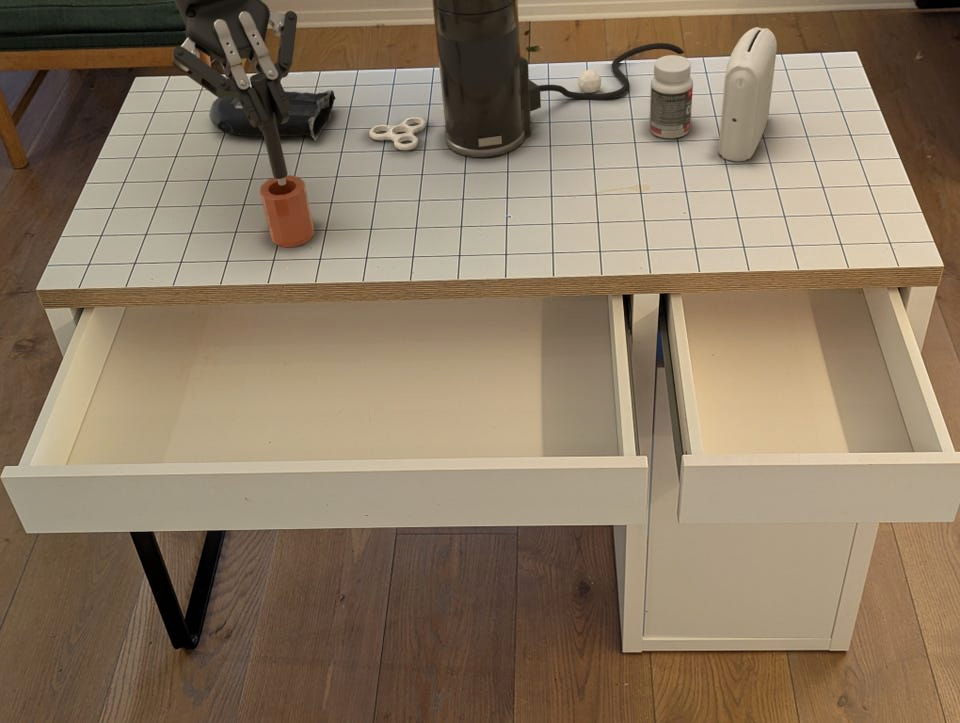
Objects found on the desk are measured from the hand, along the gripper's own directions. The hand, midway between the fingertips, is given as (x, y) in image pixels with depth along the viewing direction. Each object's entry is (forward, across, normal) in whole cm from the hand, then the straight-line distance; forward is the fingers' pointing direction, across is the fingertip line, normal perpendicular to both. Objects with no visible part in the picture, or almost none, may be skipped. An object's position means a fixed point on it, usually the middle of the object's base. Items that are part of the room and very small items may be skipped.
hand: (275, 123), depth 104 cm
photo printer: (+20, +50, +2) cm, 54 cm away
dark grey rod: (+4, 0, +7) cm, 8 cm away
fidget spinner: (+2, +19, +19) cm, 27 cm away
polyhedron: (+5, +43, +16) cm, 46 cm away
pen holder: (+9, 0, +12) cm, 15 cm away
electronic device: (-8, +8, +29) cm, 31 cm away
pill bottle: (+15, +45, +6) cm, 48 cm away
